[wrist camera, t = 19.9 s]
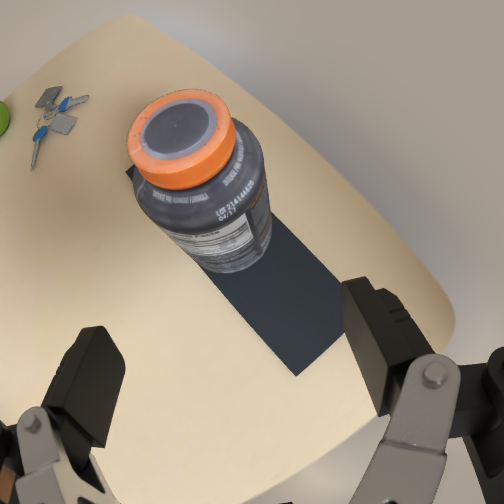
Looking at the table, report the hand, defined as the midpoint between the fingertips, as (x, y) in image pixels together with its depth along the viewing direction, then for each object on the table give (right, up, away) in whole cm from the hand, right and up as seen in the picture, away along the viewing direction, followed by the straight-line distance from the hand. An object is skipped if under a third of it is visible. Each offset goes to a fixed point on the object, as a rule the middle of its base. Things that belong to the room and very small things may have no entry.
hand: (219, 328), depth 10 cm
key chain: (-21, +18, +18) cm, 33 cm away
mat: (0, +4, +12) cm, 12 cm away
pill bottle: (-1, +4, +11) cm, 12 cm away
